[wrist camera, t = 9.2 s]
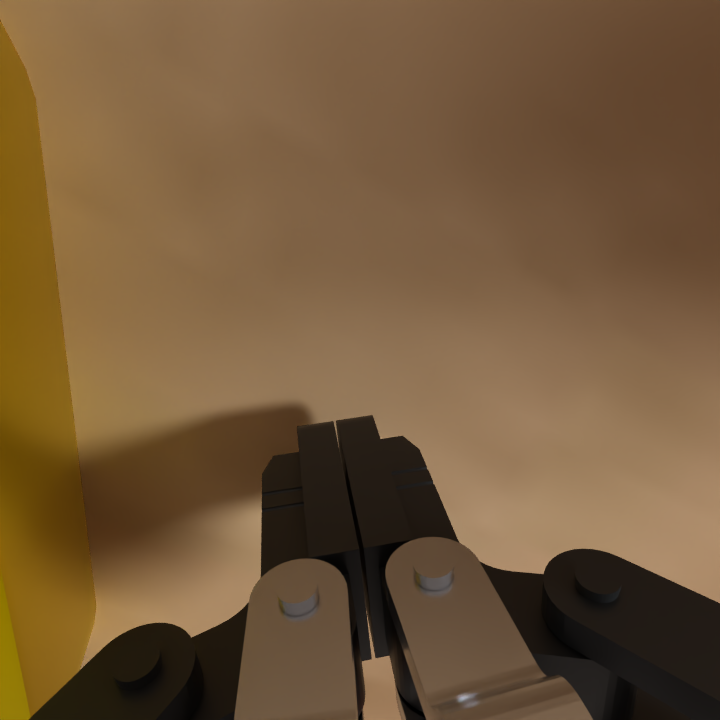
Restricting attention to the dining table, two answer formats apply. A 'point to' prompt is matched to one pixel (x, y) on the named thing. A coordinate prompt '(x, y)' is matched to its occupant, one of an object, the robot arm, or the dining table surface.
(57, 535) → the element tile
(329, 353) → the dining table surface
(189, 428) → the dining table surface
